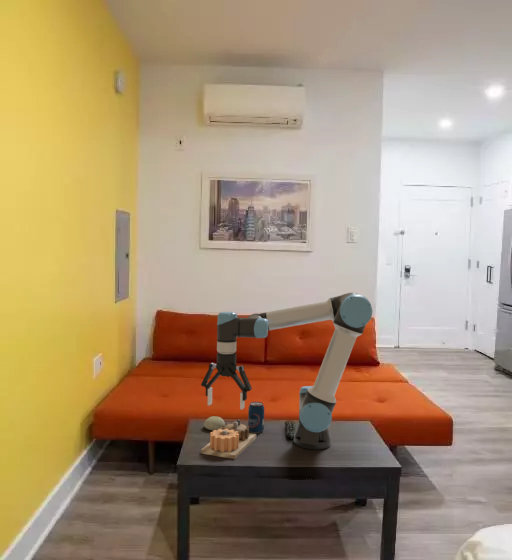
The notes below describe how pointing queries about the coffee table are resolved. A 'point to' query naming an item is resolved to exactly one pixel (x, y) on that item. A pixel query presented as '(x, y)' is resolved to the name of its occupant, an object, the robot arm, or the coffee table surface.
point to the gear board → (244, 441)
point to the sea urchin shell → (214, 423)
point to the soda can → (256, 417)
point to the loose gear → (224, 440)
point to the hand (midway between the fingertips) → (225, 406)
